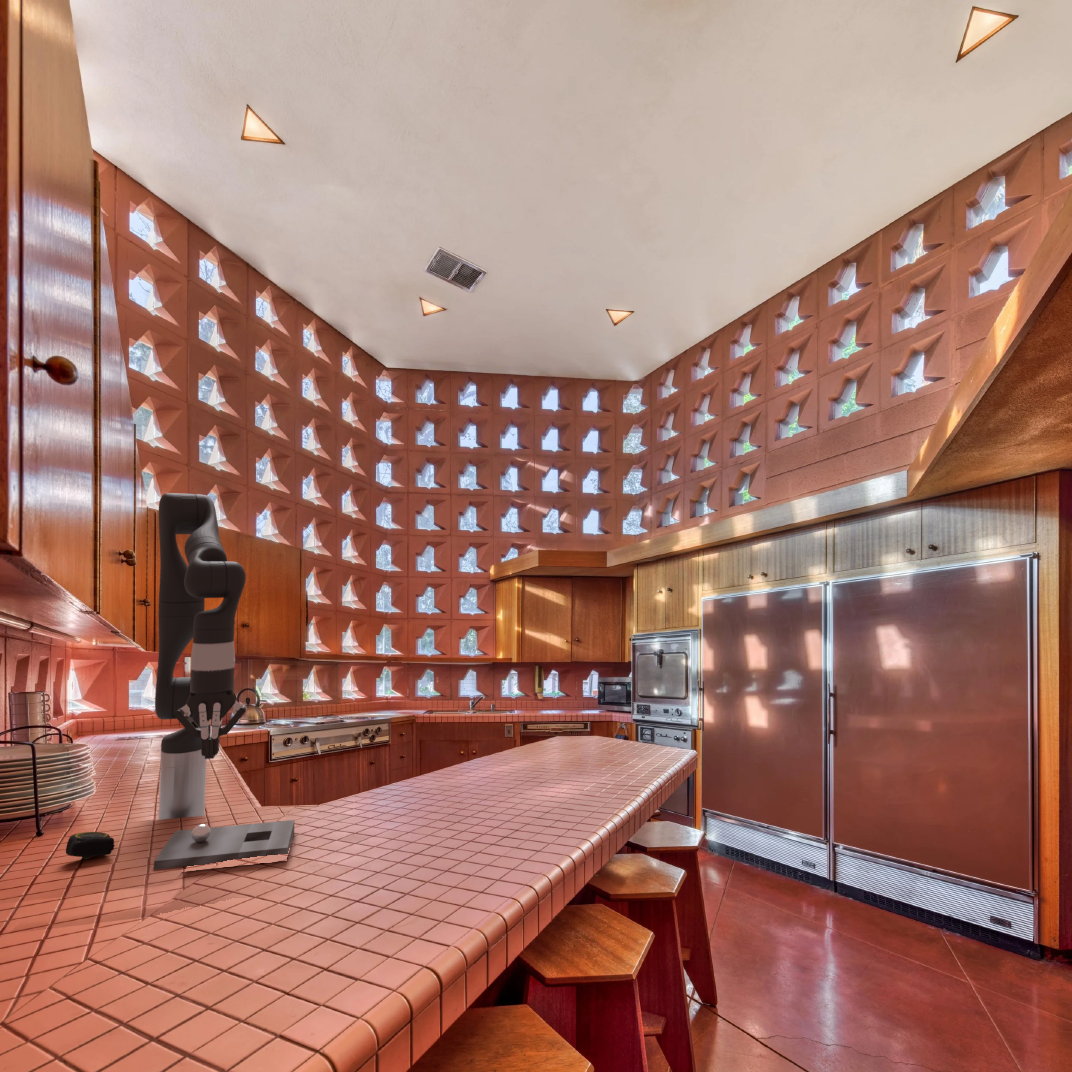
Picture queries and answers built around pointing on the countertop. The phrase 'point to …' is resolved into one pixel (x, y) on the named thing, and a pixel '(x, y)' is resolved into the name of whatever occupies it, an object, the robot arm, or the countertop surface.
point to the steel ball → (201, 833)
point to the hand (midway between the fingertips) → (210, 757)
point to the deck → (226, 844)
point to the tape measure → (89, 844)
